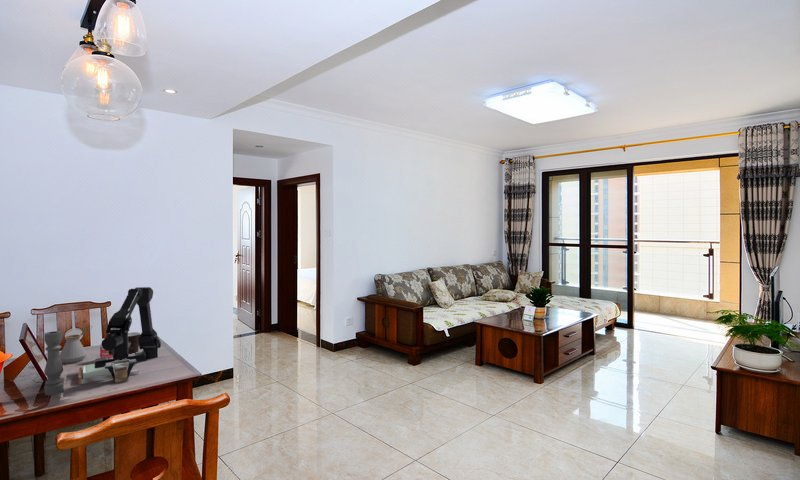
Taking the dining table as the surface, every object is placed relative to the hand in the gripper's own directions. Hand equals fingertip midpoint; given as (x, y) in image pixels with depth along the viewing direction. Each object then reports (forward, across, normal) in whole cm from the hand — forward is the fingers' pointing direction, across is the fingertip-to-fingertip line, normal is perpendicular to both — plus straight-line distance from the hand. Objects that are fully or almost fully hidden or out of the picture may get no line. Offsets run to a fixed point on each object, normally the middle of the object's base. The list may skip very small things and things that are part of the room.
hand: (120, 379), depth 186 cm
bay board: (+2, +4, -12) cm, 13 cm away
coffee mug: (+2, -6, -51) cm, 51 cm away
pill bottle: (+2, +4, -41) cm, 41 cm away
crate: (0, +8, -12) cm, 14 cm away
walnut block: (+2, 0, 0) cm, 2 cm away
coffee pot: (+2, +16, -53) cm, 55 cm away
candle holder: (+2, +23, -2) cm, 23 cm away
